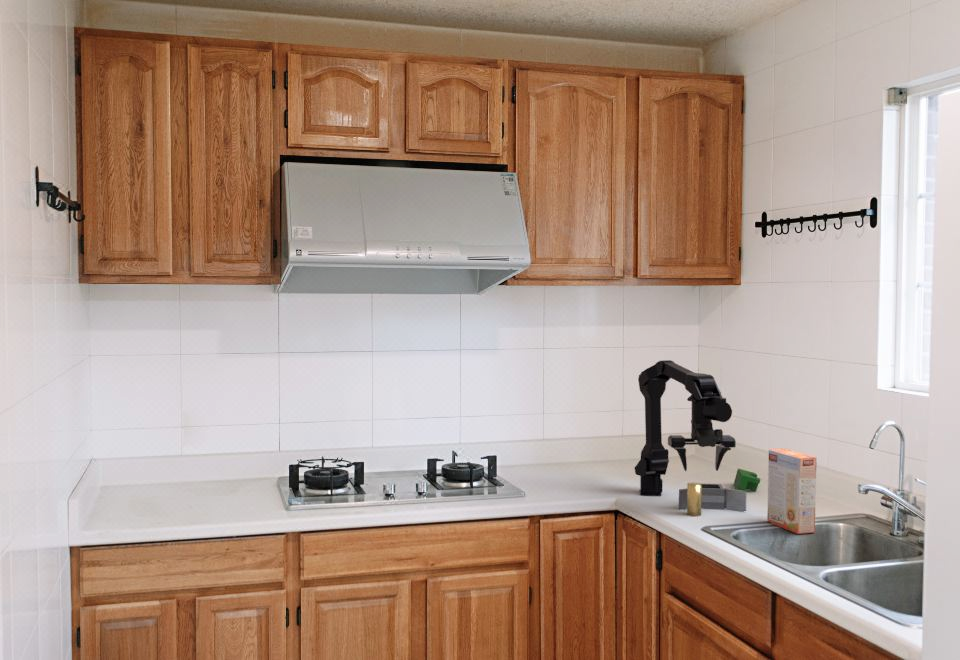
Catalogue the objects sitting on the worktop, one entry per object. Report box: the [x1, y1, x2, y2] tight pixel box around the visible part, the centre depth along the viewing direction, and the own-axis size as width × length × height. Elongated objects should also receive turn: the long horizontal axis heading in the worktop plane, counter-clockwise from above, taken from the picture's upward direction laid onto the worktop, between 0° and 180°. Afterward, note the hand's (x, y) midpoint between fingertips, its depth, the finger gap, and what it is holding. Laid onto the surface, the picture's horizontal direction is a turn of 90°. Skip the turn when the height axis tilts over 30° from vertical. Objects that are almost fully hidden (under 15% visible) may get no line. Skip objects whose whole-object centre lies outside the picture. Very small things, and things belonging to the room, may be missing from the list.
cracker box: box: [766, 448, 817, 535], centre depth 248 cm, size 14×6×21 cm, turn 17°
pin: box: [686, 482, 703, 517], centre depth 262 cm, size 4×4×9 cm
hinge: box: [678, 483, 748, 512], centre depth 271 cm, size 20×10×6 cm, turn 83°
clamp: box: [733, 468, 762, 493], centre depth 294 cm, size 12×6×9 cm, turn 165°
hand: (701, 470), depth 264 cm, fingers open, 9 cm apart
